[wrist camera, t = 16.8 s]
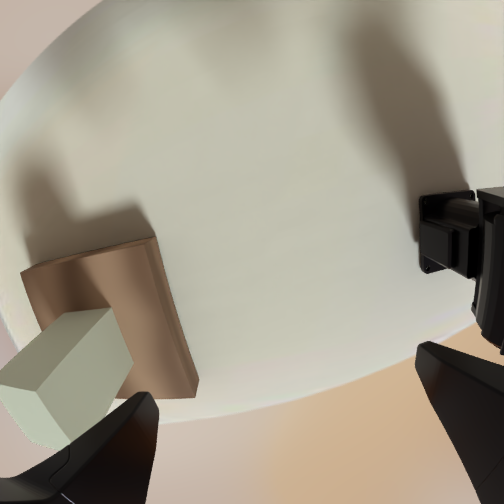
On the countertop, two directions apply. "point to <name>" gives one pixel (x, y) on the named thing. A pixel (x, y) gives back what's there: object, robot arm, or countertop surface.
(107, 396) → the sage block
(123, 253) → the walnut stand
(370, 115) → the countertop surface
